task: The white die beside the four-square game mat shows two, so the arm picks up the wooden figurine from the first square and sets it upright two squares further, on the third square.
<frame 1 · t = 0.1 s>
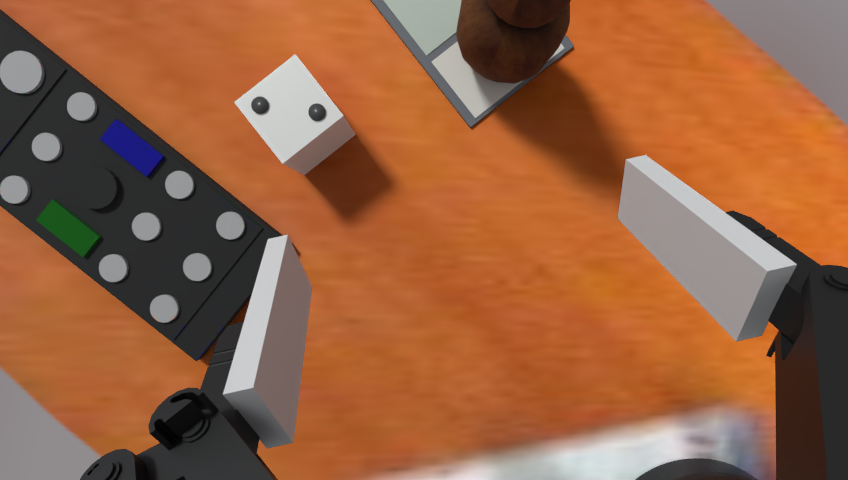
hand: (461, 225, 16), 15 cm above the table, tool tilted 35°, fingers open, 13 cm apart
die: (310, 129, 31), on the table
wooden figurine: (497, 55, 31), resting on game mat
remote control: (99, 177, 32), on the table
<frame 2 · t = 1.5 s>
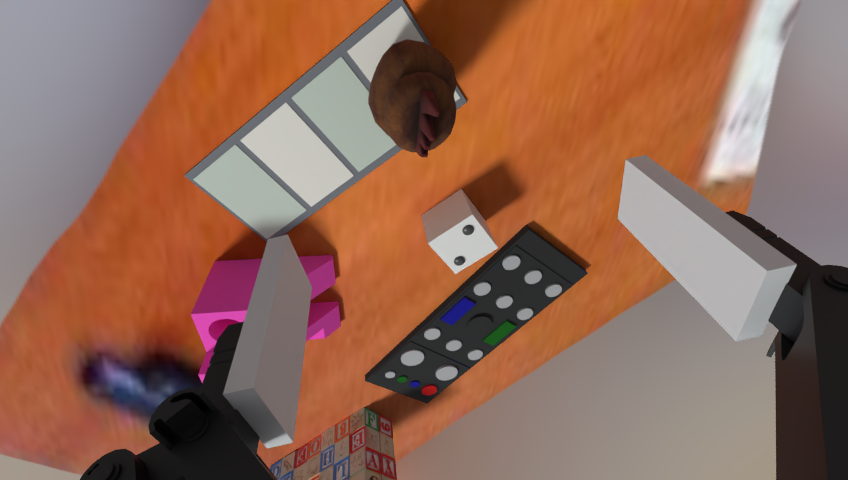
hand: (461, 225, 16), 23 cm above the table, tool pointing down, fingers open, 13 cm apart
game mat: (324, 138, 36), on the table
die: (453, 217, 43), on the table
bracket: (283, 291, 46), on the table
wooden figurine: (405, 75, 34), resting on game mat
stack of blocks: (329, 441, 66), on the table
remote control: (467, 320, 54), on the table
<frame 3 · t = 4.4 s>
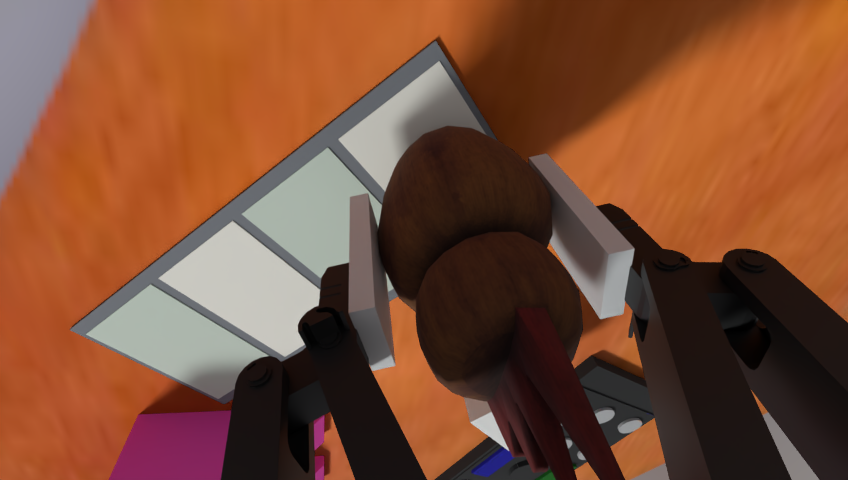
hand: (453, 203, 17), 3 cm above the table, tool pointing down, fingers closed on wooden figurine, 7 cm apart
game mat: (303, 267, 22), on the table
die: (501, 354, 29), on the table
bracket: (244, 445, 31), on the table
wooden figurine: (440, 172, 20), resting on game mat, touching gripper
remote control: (507, 458, 40), on the table
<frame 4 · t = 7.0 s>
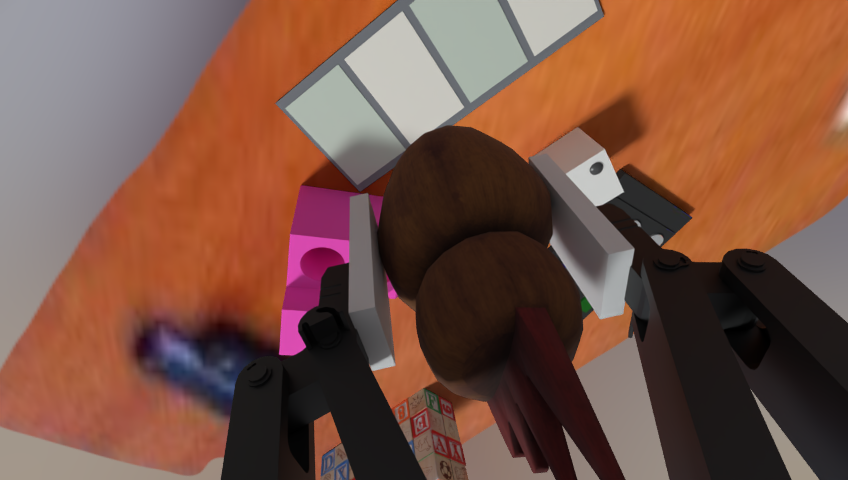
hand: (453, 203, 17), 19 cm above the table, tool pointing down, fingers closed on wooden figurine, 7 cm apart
game mat: (438, 59, 32), on the table
die: (563, 162, 39), on the table
bracket: (360, 238, 41), on the table
wooden figurine: (439, 172, 20), point 16 cm above the table, touching gripper
stack of blocks: (385, 427, 61), on the table
remote control: (554, 287, 49), on the table
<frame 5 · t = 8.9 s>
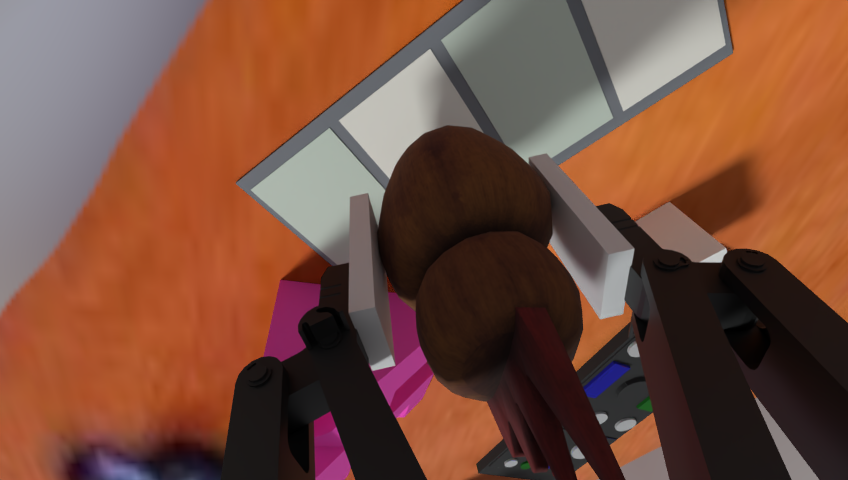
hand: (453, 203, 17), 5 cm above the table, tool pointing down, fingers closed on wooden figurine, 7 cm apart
game mat: (481, 117, 21), on the table
die: (642, 245, 28), on the table
bracket: (361, 339, 30), on the table
wooden figurine: (439, 172, 20), point 2 cm above the table, touching gripper
remote control: (609, 382, 39), on the table
when the fingers open (5 cm above the table, at t = 9.7 s): wooden figurine drops 2 cm, resting on game mat.
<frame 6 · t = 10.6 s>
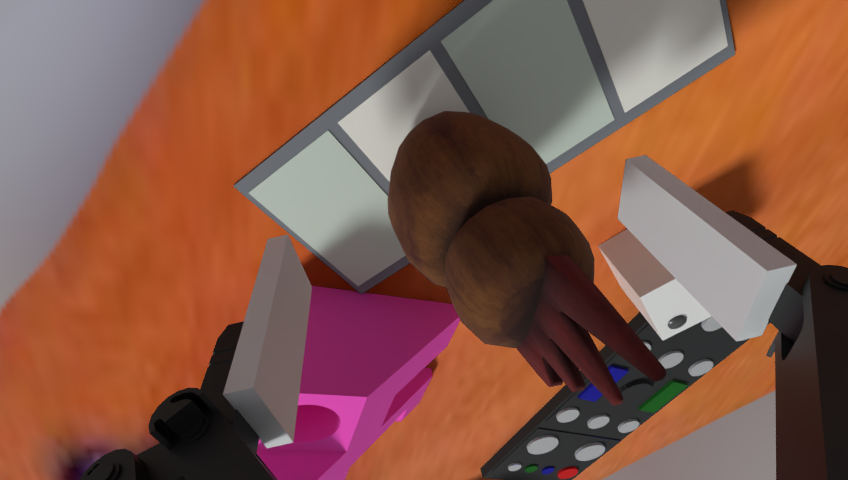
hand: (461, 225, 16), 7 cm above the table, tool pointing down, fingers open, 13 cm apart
game mat: (481, 119, 21), on the table
die: (643, 248, 28), on the table
bracket: (359, 342, 30), on the table
wooden figurine: (434, 156, 21), resting on game mat
remote control: (610, 384, 38), on the table
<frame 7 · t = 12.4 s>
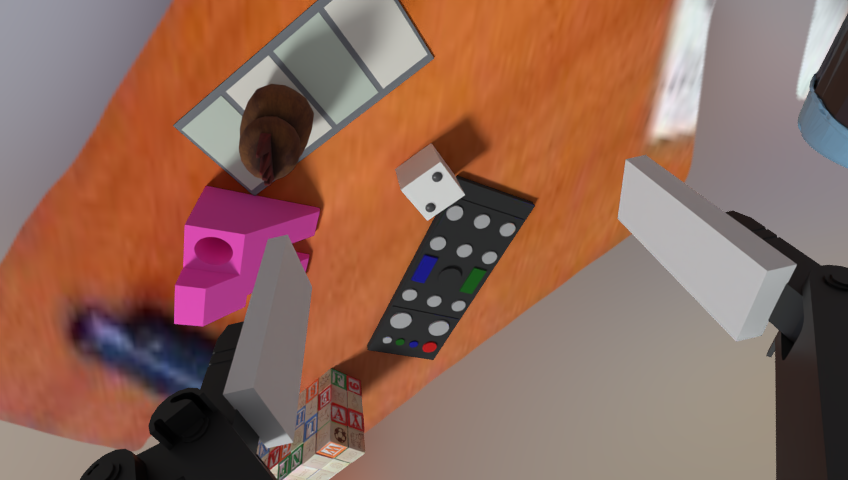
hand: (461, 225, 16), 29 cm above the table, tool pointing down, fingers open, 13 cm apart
game mat: (304, 91, 40), on the table
die: (425, 171, 47), on the table
bracket: (260, 233, 48), on the table
wooden figurine: (282, 110, 40), resting on game mat
stack of blocks: (305, 406, 69), on the table
remote control: (441, 276, 58), on the table
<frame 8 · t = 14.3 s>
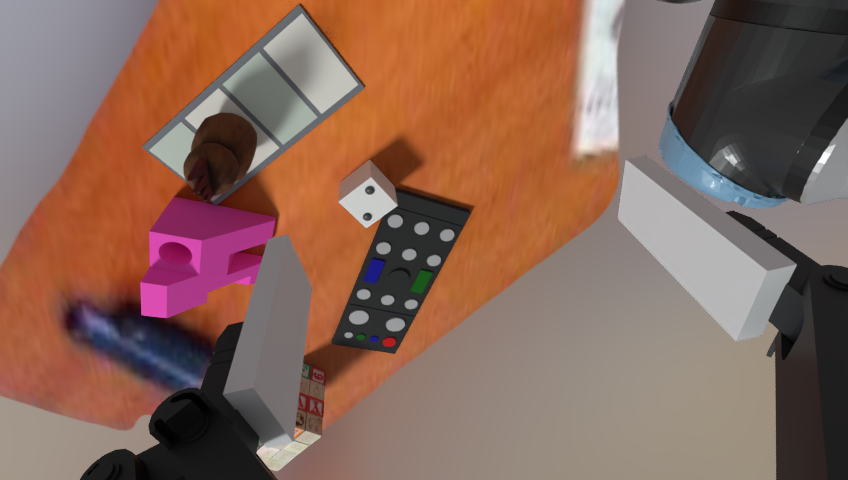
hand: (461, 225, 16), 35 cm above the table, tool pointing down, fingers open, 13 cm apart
game mat: (252, 117, 46), on the table
die: (367, 184, 53), on the table
bracket: (224, 237, 55), on the table
wooden figurine: (234, 132, 47), resting on game mat
stack of blocks: (277, 394, 76), on the table
remote control: (394, 277, 64), on the table
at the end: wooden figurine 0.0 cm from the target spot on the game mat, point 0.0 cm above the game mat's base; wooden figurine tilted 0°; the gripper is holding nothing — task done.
